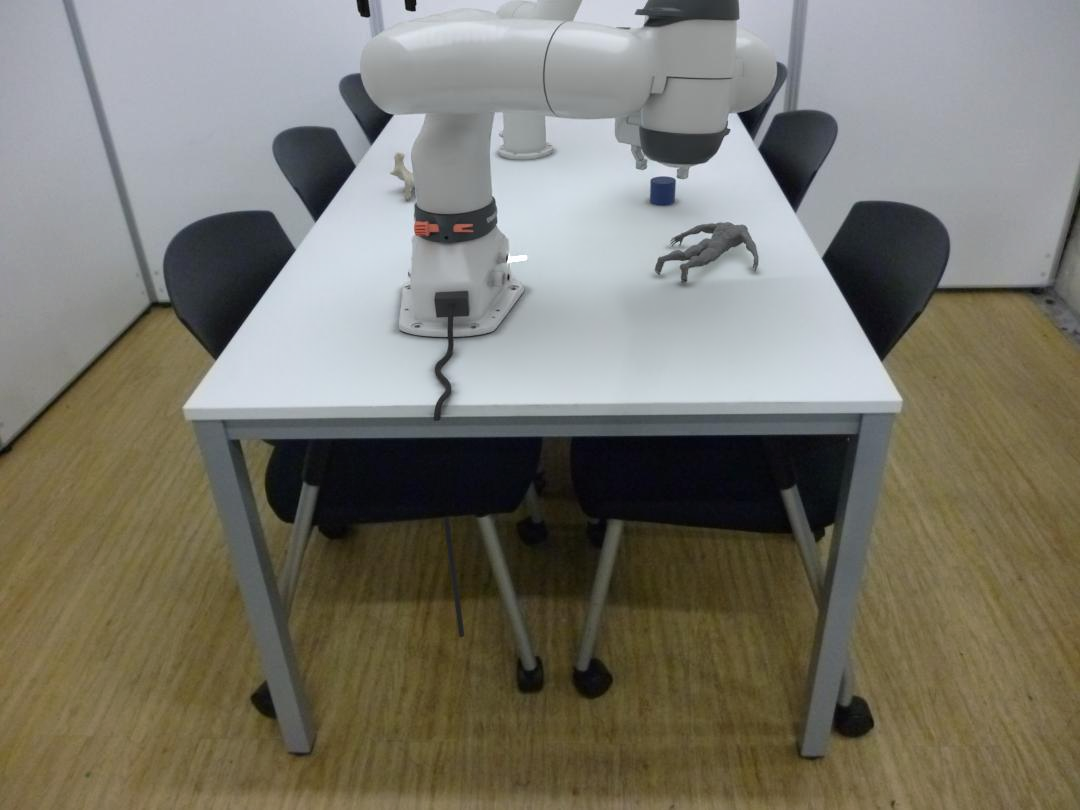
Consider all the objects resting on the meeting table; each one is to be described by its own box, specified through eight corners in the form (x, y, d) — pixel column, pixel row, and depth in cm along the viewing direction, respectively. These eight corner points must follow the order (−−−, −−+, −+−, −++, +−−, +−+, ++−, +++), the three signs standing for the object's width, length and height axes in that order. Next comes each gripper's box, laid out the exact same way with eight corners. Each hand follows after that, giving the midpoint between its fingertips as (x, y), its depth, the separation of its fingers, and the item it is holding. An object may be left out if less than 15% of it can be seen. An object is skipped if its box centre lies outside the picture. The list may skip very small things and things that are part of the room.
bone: (410, 176, 161) (400, 143, 166) (391, 200, 165) (382, 166, 170) (452, 196, 168) (441, 163, 173) (433, 218, 172) (423, 185, 177)
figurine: (714, 298, 124) (788, 252, 135) (715, 272, 122) (790, 227, 132) (628, 269, 134) (703, 228, 145) (628, 245, 132) (704, 205, 143)
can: (652, 197, 162) (653, 175, 160) (676, 198, 161) (677, 176, 159) (647, 205, 158) (648, 183, 156) (672, 206, 157) (673, 184, 155)
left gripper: (724, 101, 145) (718, 179, 153) (631, 87, 157) (629, 160, 165) (704, 108, 141) (698, 188, 149) (610, 93, 153) (609, 168, 161)
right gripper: (408, -93, 157) (418, 7, 167) (322, -87, 149) (338, 17, 158) (427, -93, 152) (437, 10, 161) (339, -87, 144) (355, 21, 153)
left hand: (661, 173), depth 157 cm, fingers open, 8 cm apart
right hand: (388, 13), depth 160 cm, fingers open, 9 cm apart
